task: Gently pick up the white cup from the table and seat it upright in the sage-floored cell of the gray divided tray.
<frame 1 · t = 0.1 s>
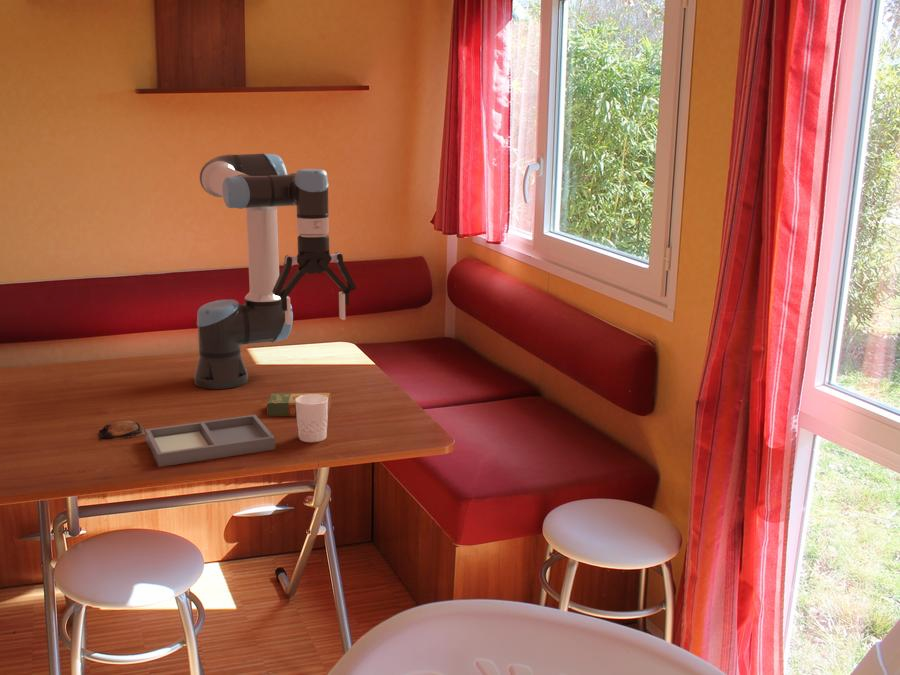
hand: (315, 321, 242), 28 cm above the table, tool pointing down, fingers open, 13 cm apart
white cup: (312, 438, 242), on the table
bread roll: (122, 435, 244), on the table
gray divided tray: (210, 445, 237), on the table
carton: (299, 412, 262), on the table
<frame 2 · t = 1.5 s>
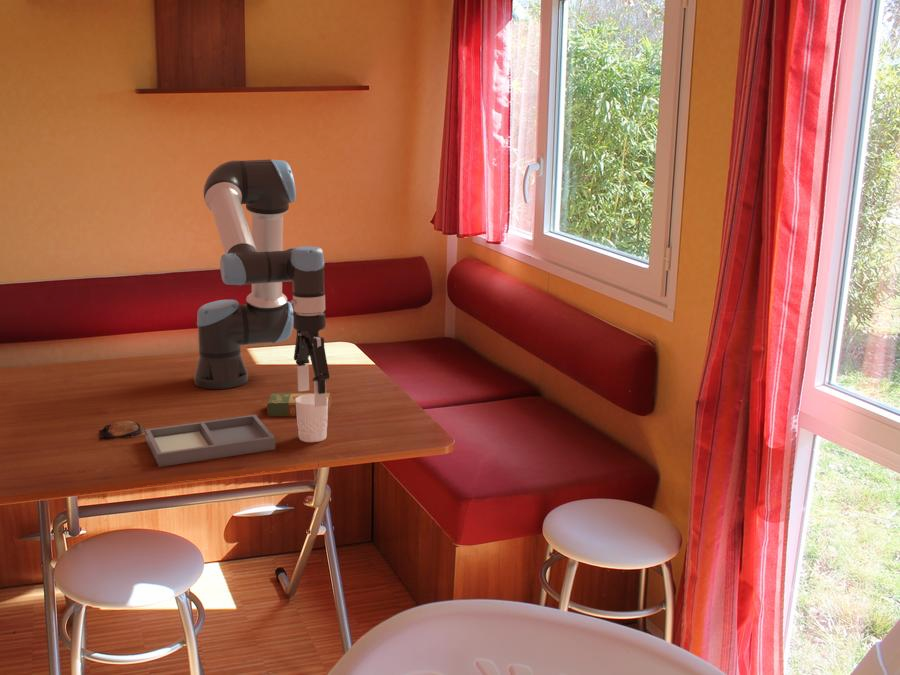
hand: (312, 398, 240), 10 cm above the table, tool pointing down, fingers open, 13 cm apart
nothing on the table moved.
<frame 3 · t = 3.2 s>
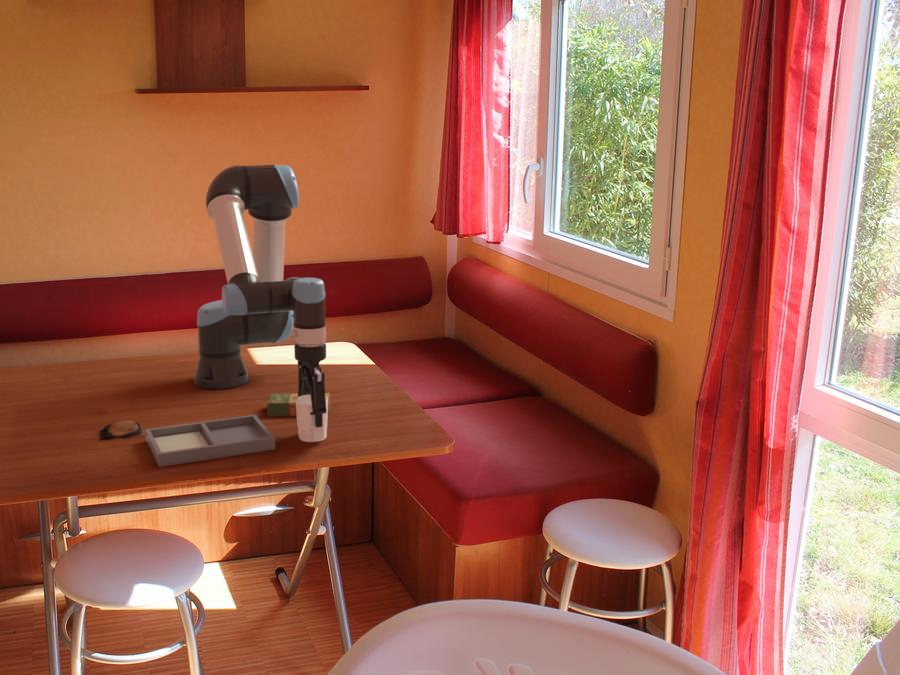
hand: (312, 433, 242), 1 cm above the table, tool pointing down, fingers closed on white cup, 8 cm apart
white cup: (312, 438, 242), on the table, touching gripper
everything else where it was.
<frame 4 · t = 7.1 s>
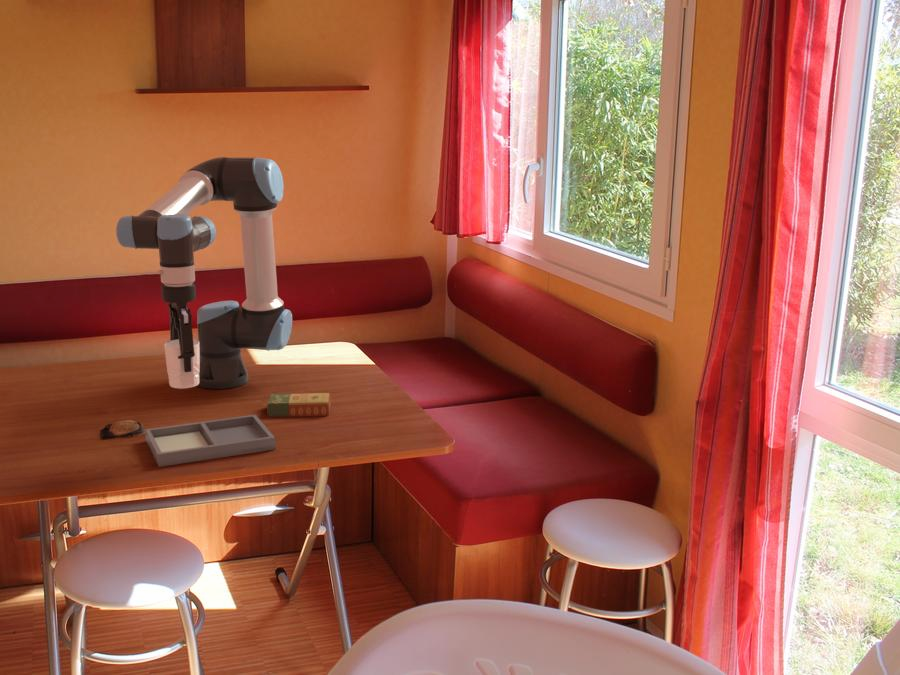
hand: (184, 379, 230), 17 cm above the table, tool pointing down, fingers closed on white cup, 8 cm apart
white cup: (184, 385, 230), point 16 cm above the table, touching gripper
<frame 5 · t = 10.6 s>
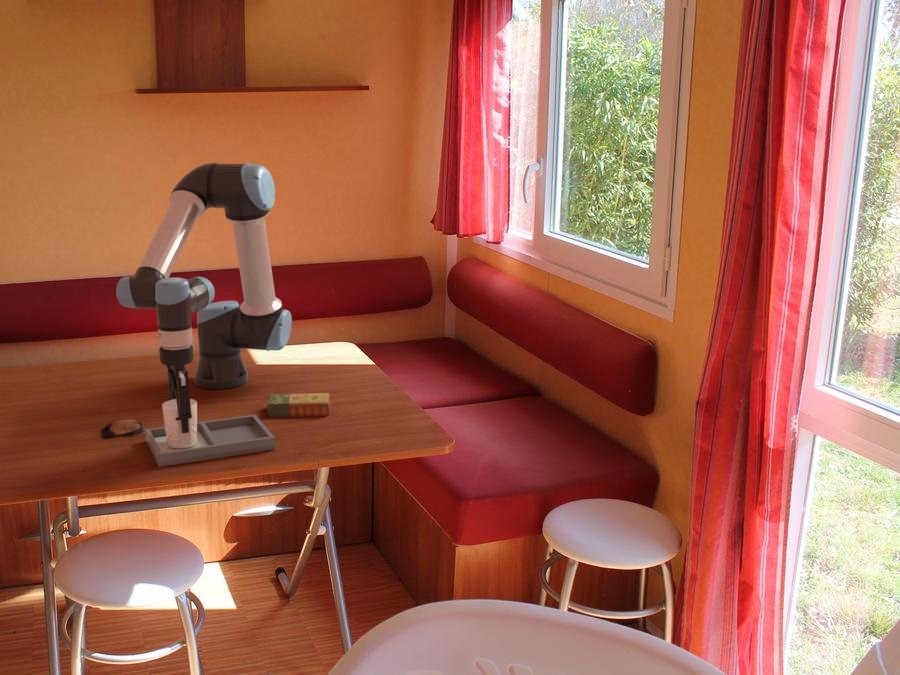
hand: (181, 438, 234), 3 cm above the table, tool pointing down, fingers closed on white cup, 8 cm apart
white cup: (182, 444, 234), point 1 cm above the table, touching gripper
when the fingers open (3 cm above the table, at t = 11.0 s): white cup stays where it is, resting on gray divided tray.
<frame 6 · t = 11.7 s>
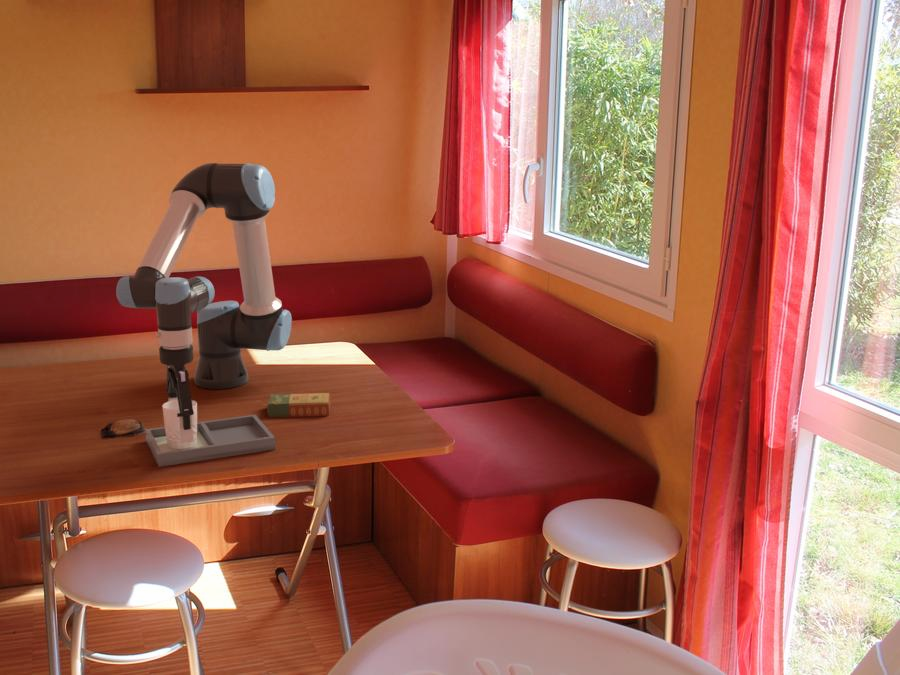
hand: (181, 432, 233), 4 cm above the table, tool pointing down, fingers open, 13 cm apart
white cup: (182, 445, 234), point 1 cm above the table, touching gray divided tray
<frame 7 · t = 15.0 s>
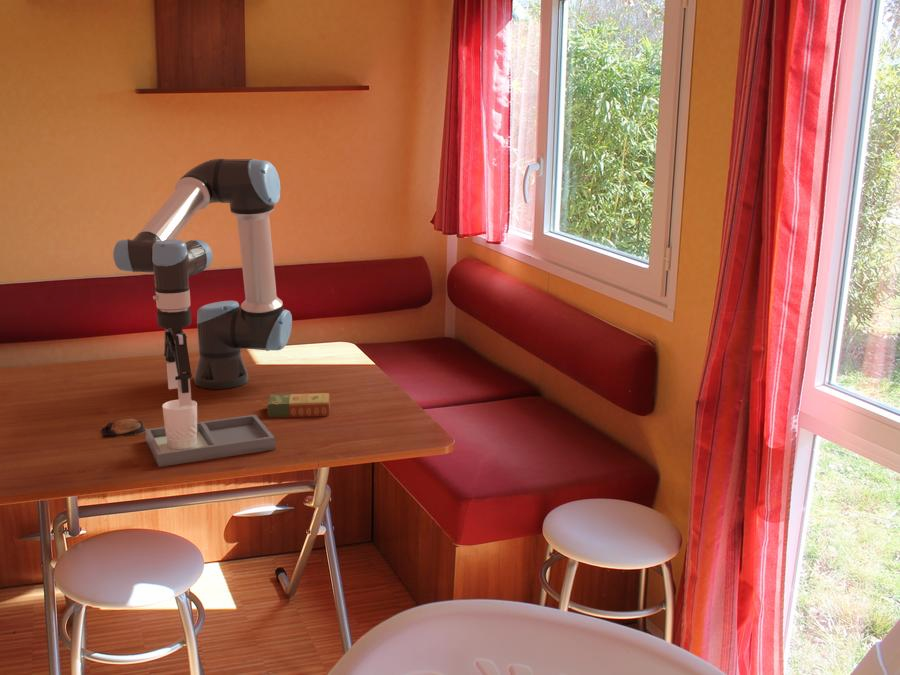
hand: (179, 396, 231), 13 cm above the table, tool pointing down, fingers open, 13 cm apart
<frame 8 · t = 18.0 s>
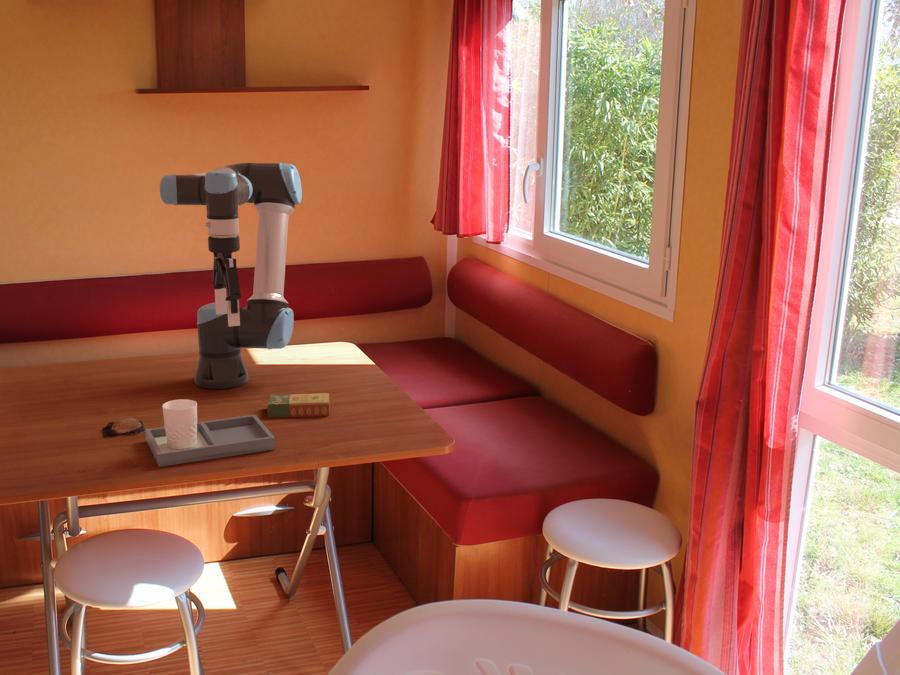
hand: (227, 319, 247), 27 cm above the table, tool pointing down, fingers open, 13 cm apart
at the end: white cup inside the target area on the gray divided tray (0.0 cm from its centre), point 0.9 cm above the gray divided tray's base; white cup tilted 0°; the gripper is holding nothing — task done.
